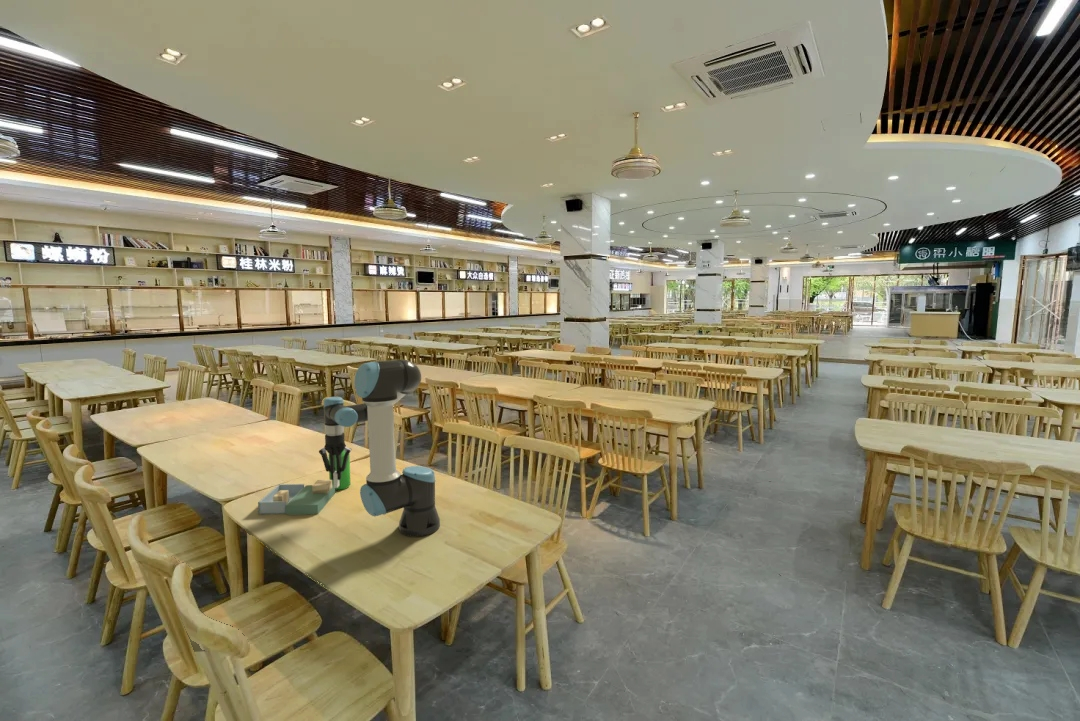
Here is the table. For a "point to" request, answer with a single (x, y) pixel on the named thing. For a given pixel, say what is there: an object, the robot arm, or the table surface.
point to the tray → (280, 507)
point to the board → (308, 501)
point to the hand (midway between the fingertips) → (336, 486)
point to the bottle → (342, 473)
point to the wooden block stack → (322, 486)
